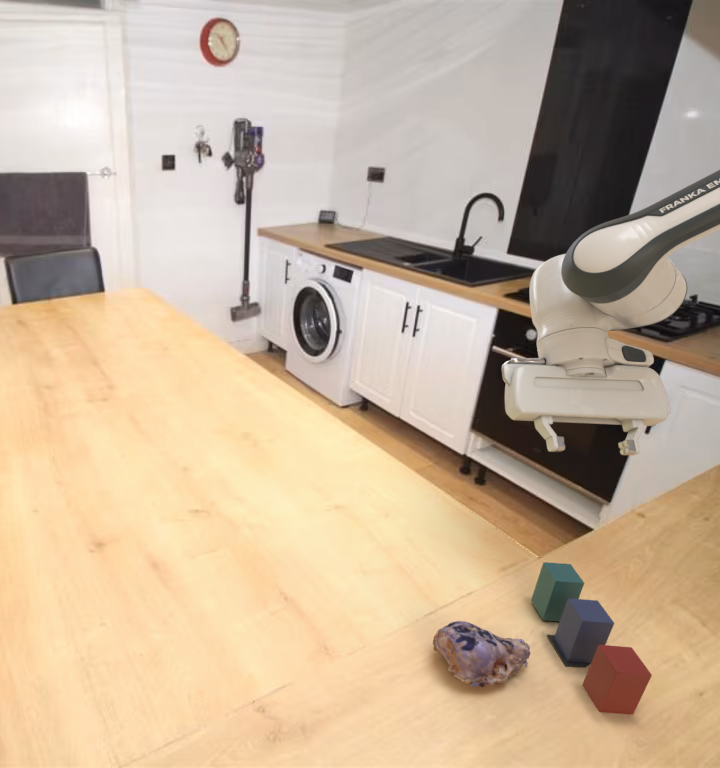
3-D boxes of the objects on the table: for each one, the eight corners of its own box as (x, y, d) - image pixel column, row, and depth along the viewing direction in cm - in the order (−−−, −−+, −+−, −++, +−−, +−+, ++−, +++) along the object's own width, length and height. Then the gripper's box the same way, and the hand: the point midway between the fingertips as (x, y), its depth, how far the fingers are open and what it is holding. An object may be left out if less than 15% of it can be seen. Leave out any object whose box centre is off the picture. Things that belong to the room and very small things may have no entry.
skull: (513, 639, 71) (525, 606, 68) (545, 696, 64) (560, 663, 61) (421, 639, 71) (429, 606, 68) (443, 696, 64) (453, 663, 61)
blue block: (582, 640, 71) (598, 600, 68) (597, 664, 67) (614, 623, 64) (553, 638, 71) (567, 597, 68) (567, 662, 68) (583, 620, 65)
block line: (561, 602, 77) (575, 564, 74) (637, 719, 61) (658, 675, 58) (526, 599, 77) (538, 561, 74) (592, 714, 61) (611, 671, 59)
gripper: (509, 347, 76) (524, 442, 71) (665, 352, 74) (691, 450, 69) (491, 365, 82) (503, 454, 77) (634, 370, 80) (656, 462, 75)
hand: (593, 452), depth 73 cm, fingers open, 8 cm apart
